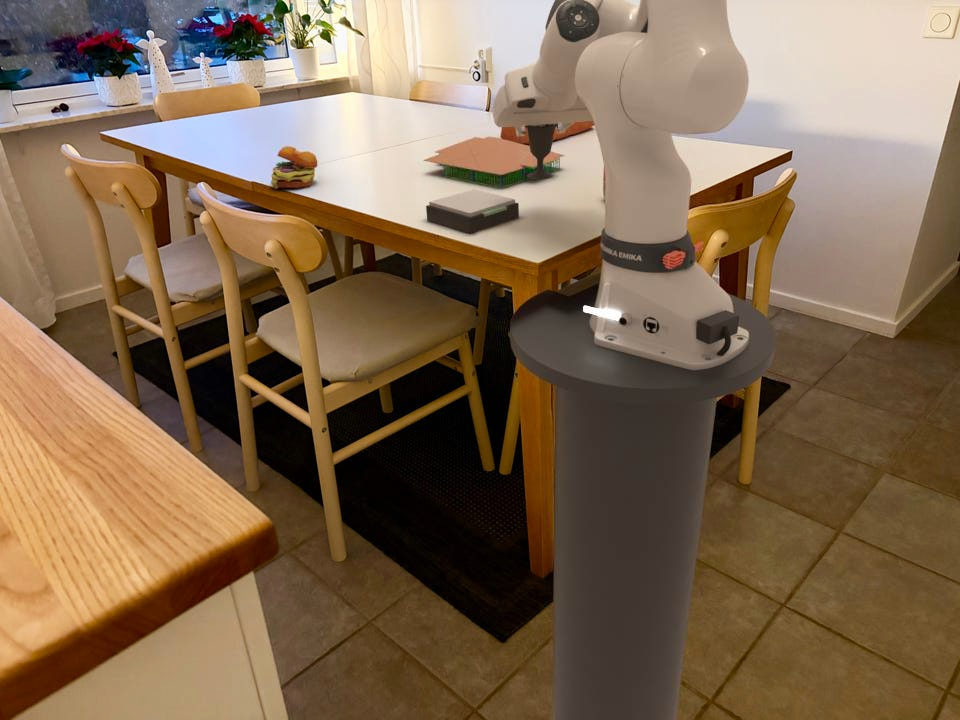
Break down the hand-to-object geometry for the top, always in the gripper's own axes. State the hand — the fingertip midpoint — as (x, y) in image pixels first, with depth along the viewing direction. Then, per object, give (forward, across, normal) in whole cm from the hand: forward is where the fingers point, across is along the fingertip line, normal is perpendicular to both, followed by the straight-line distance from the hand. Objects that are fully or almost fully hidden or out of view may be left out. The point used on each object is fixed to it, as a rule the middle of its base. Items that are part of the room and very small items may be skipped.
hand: (539, 132), depth 143 cm
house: (+37, +2, -15) cm, 40 cm away
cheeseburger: (+40, +49, -17) cm, 66 cm away
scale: (+10, +14, +12) cm, 21 cm away
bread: (+63, -24, -41) cm, 79 cm away
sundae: (+6, 0, +6) cm, 9 cm away
